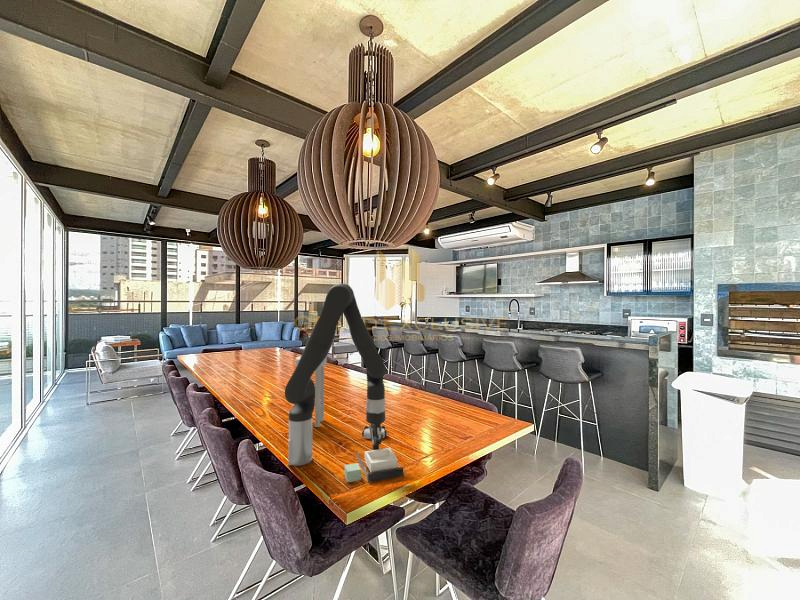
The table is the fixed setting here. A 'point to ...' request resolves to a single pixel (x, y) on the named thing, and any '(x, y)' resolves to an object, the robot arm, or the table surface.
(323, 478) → the table surface
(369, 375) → the robot arm
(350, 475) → the block
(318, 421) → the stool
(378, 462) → the white square tray
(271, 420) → the table surface
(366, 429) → the robot toy
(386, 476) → the track
